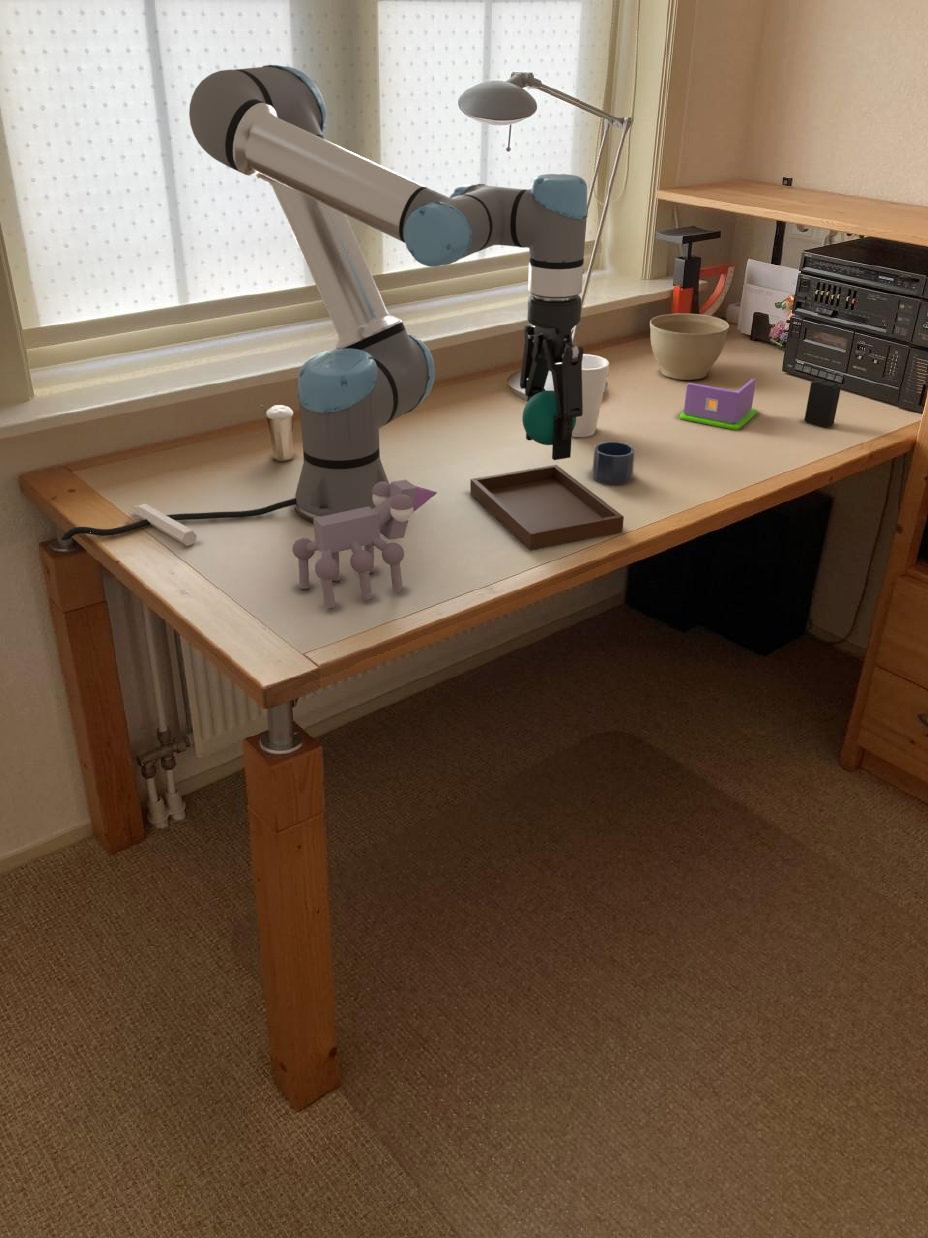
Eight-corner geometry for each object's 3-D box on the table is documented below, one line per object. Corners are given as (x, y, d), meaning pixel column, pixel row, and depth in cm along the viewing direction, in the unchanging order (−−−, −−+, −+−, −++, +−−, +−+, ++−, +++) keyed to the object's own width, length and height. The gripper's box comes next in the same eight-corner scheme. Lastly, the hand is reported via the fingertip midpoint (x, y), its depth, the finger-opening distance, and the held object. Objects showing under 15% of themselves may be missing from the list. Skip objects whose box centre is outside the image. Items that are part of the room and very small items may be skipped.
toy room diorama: (738, 430, 196) (743, 395, 193) (677, 418, 202) (681, 383, 198) (758, 412, 205) (764, 377, 202) (699, 400, 211) (704, 367, 207)
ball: (536, 456, 155) (538, 403, 151) (512, 438, 161) (514, 386, 157) (584, 448, 158) (587, 396, 154) (559, 430, 164) (561, 380, 160)
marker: (135, 515, 165) (193, 547, 155) (123, 512, 163) (181, 544, 154) (140, 499, 165) (198, 530, 155) (129, 496, 163) (187, 527, 153)
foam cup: (603, 423, 199) (608, 354, 193) (604, 441, 191) (609, 370, 185) (552, 421, 200) (556, 353, 194) (551, 438, 192) (555, 368, 186)
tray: (529, 550, 154) (530, 534, 153) (470, 493, 171) (470, 478, 170) (622, 532, 160) (624, 516, 158) (555, 479, 177) (556, 464, 175)
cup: (605, 487, 174) (607, 458, 171) (585, 472, 179) (587, 444, 176) (639, 481, 176) (642, 452, 174) (619, 466, 181) (621, 439, 179)
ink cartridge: (833, 425, 199) (841, 384, 195) (827, 428, 198) (835, 387, 194) (810, 418, 202) (817, 378, 198) (803, 421, 201) (811, 380, 197)
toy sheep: (421, 551, 154) (420, 464, 147) (457, 583, 146) (457, 491, 139) (291, 582, 145) (284, 491, 138) (321, 618, 137) (314, 522, 130)
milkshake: (262, 456, 184) (256, 400, 179) (291, 450, 186) (287, 395, 181) (270, 465, 181) (265, 408, 176) (300, 459, 183) (296, 404, 178)
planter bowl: (725, 366, 230) (732, 316, 224) (717, 389, 216) (725, 336, 211) (651, 359, 234) (656, 309, 228) (639, 381, 221) (644, 329, 215)
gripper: (616, 309, 141) (604, 468, 153) (544, 276, 158) (538, 422, 169) (566, 315, 139) (557, 476, 150) (499, 280, 155) (496, 428, 167)
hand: (547, 447), depth 160 cm, fingers closed on ball, 8 cm apart
